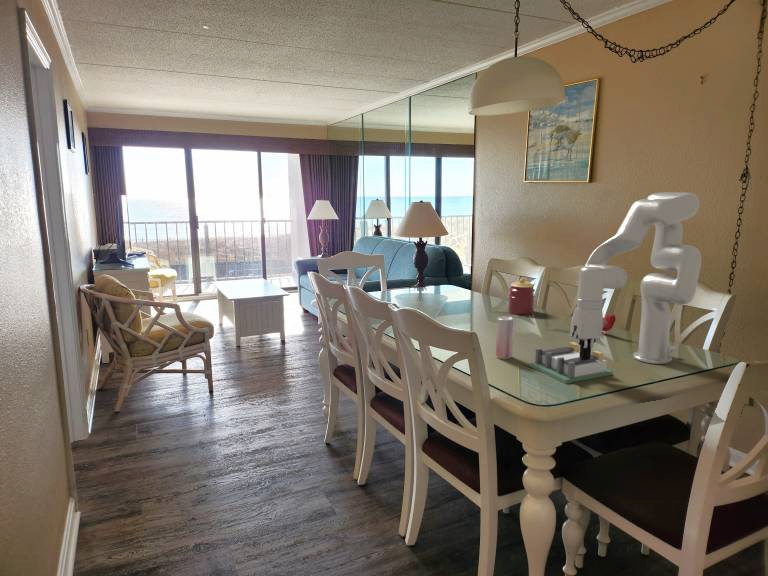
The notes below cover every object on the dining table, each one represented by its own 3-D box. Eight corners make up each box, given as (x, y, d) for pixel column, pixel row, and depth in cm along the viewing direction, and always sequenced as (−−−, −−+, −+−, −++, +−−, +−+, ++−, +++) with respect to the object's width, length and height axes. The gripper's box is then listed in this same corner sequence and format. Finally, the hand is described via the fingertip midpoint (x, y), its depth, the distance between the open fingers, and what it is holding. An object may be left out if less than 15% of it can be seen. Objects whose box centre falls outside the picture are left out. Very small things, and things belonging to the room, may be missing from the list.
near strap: (590, 357, 175) (590, 354, 175) (597, 359, 172) (597, 357, 172) (562, 362, 170) (562, 360, 170) (569, 365, 167) (569, 363, 167)
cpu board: (573, 359, 189) (575, 339, 188) (612, 374, 173) (614, 353, 172) (529, 366, 182) (530, 346, 180) (565, 383, 165) (566, 361, 164)
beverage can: (494, 354, 195) (495, 316, 193) (510, 354, 195) (511, 316, 192) (497, 359, 190) (498, 320, 187) (513, 359, 189) (515, 320, 187)
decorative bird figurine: (612, 339, 214) (613, 315, 212) (583, 328, 231) (584, 307, 229) (617, 338, 215) (619, 315, 213) (588, 328, 232) (589, 306, 230)
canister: (517, 308, 272) (518, 275, 269) (538, 312, 263) (540, 278, 260) (502, 312, 264) (503, 278, 260) (524, 316, 254) (526, 281, 251)
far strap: (567, 348, 185) (567, 346, 185) (574, 351, 182) (574, 349, 182) (540, 353, 180) (540, 351, 180) (546, 356, 177) (546, 353, 177)
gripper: (597, 300, 175) (593, 352, 178) (563, 303, 169) (559, 357, 172) (615, 305, 168) (610, 359, 171) (579, 308, 162) (575, 364, 165)
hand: (584, 358), depth 171 cm, fingers closed
